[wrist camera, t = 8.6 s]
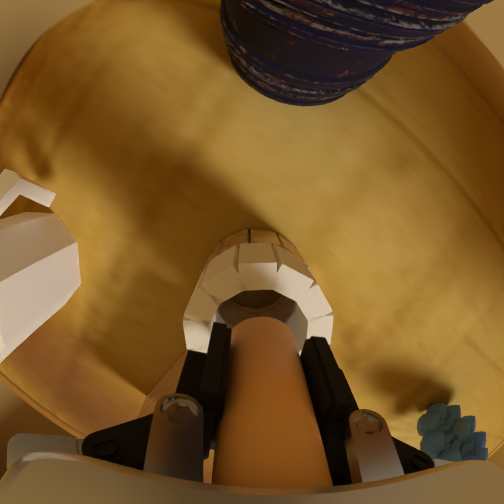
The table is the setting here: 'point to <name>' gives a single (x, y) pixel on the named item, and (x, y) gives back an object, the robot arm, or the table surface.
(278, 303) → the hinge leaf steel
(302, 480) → the hinge pin
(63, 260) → the mug
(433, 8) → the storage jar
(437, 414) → the grapes
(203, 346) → the hinge leaf cream
